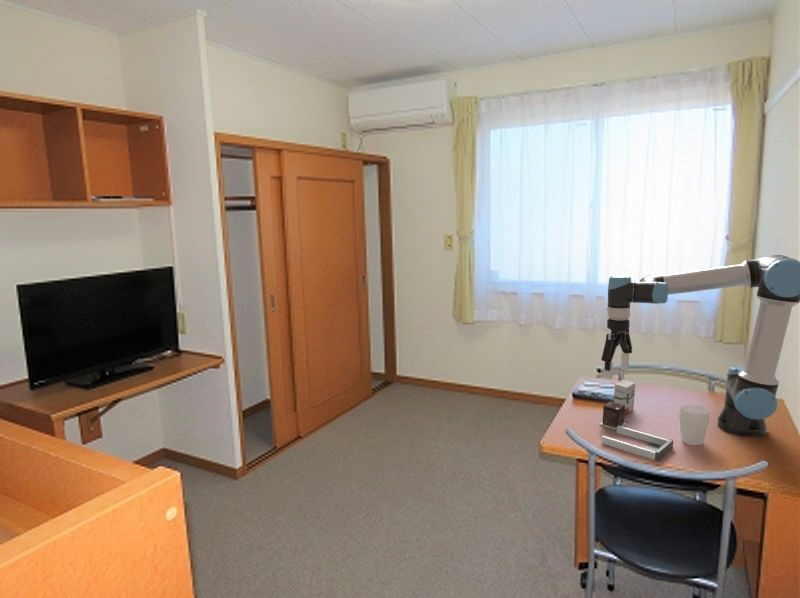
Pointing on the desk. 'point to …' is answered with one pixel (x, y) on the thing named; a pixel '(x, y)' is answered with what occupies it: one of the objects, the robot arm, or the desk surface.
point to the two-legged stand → (652, 450)
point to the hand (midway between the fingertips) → (616, 374)
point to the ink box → (625, 394)
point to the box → (613, 414)
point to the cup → (693, 424)
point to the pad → (611, 426)
